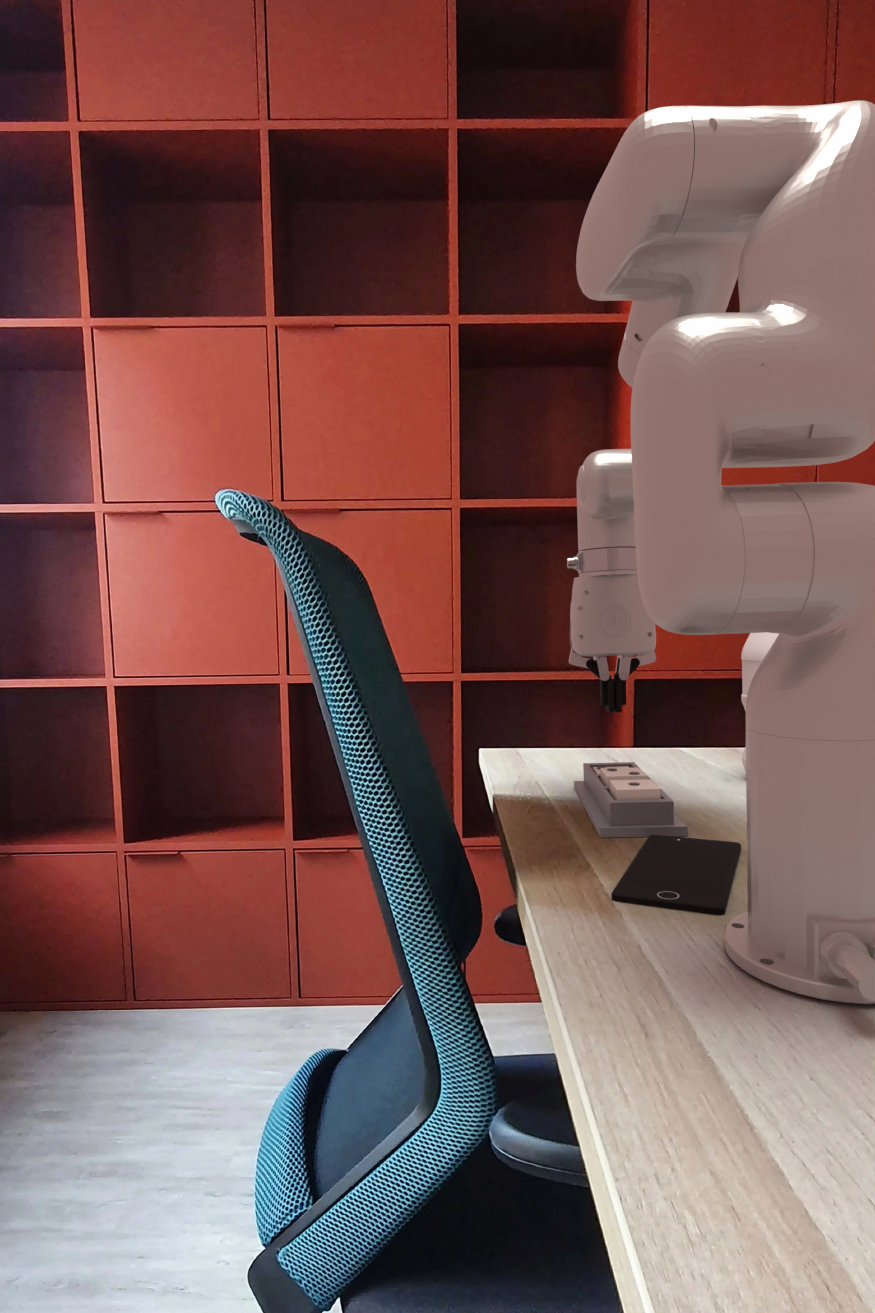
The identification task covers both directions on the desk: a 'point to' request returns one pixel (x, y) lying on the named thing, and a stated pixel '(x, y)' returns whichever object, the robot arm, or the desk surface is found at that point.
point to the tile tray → (626, 809)
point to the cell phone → (681, 874)
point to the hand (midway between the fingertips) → (613, 711)
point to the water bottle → (753, 663)
